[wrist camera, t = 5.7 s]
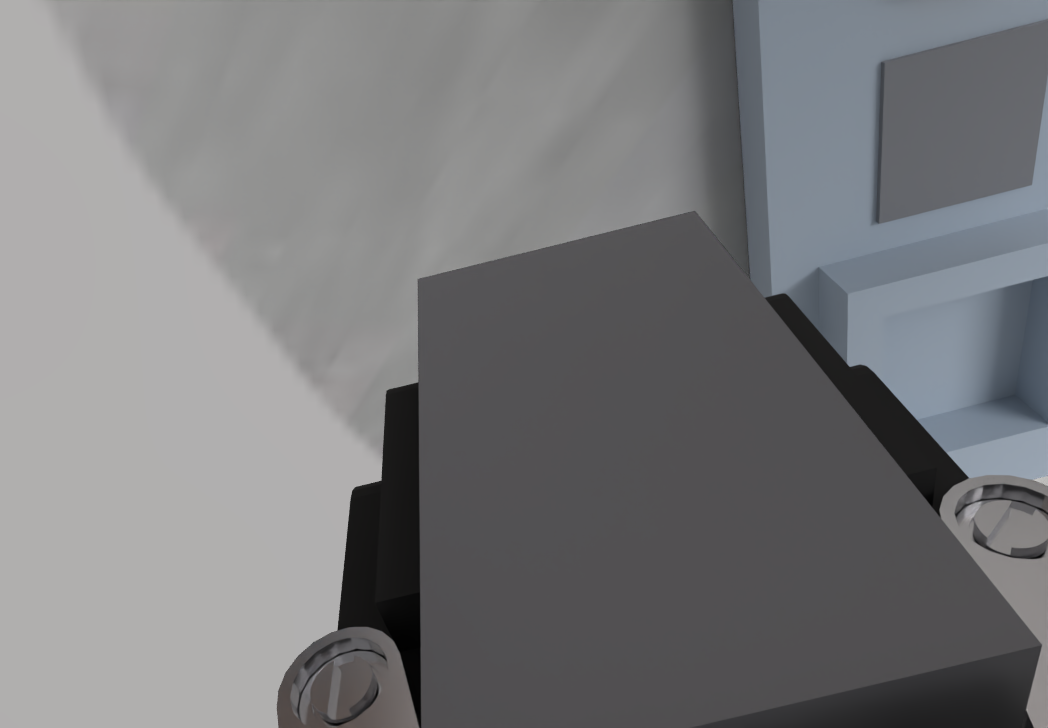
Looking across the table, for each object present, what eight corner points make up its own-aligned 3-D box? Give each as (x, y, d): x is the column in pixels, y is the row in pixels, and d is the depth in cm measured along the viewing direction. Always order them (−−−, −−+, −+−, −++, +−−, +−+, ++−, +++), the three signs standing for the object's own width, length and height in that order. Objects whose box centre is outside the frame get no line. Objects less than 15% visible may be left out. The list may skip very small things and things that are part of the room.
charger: (418, 279, 12) (421, 790, 5) (695, 210, 12) (1041, 644, 5) (486, 491, 15) (546, 1020, 8) (716, 435, 15) (971, 923, 8)
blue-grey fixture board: (724, -130, 21) (785, -132, 18) (1155, -240, 21) (1298, -263, 18) (764, 510, 34) (804, 579, 31) (1033, 441, 34) (1103, 503, 31)
